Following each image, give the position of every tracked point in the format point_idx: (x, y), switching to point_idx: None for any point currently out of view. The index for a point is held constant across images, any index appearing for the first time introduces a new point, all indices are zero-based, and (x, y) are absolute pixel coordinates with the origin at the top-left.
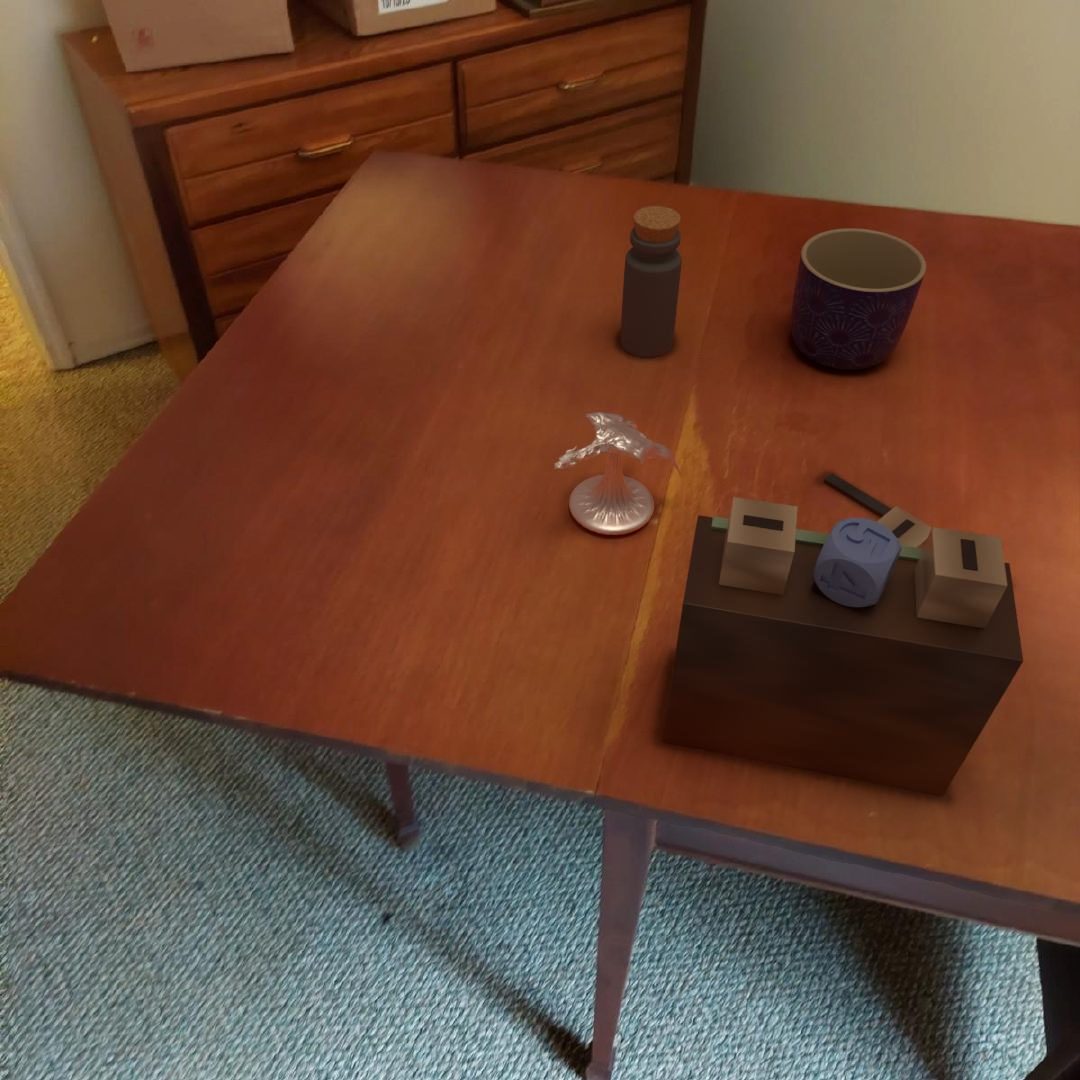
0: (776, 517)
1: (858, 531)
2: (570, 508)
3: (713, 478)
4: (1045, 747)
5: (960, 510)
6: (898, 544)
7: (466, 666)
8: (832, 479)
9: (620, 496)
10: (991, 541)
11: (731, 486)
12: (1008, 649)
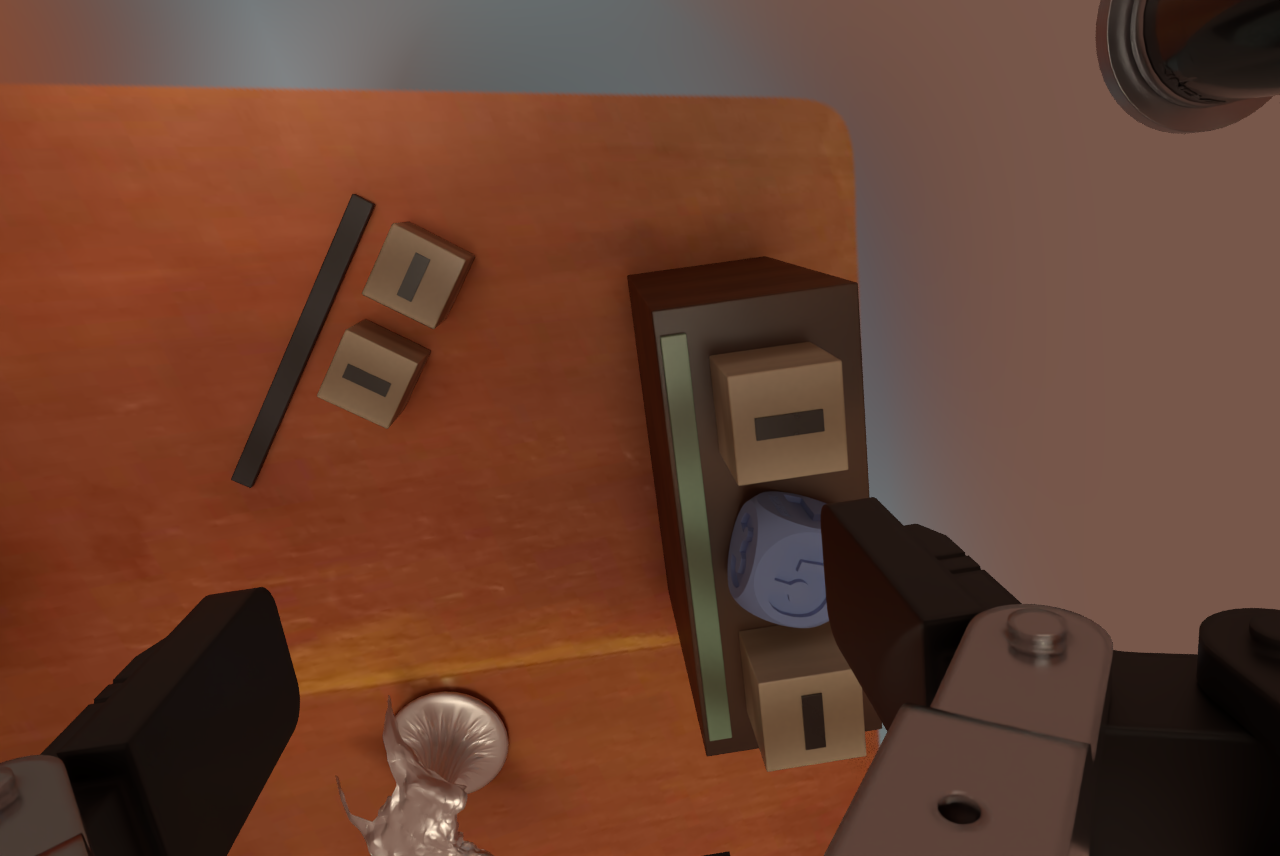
0: (794, 706)
1: (788, 591)
2: (481, 787)
3: (322, 634)
4: (647, 130)
5: (215, 272)
6: (792, 528)
7: (761, 791)
8: (246, 477)
9: (455, 750)
10: (743, 391)
11: (327, 606)
12: (840, 305)
